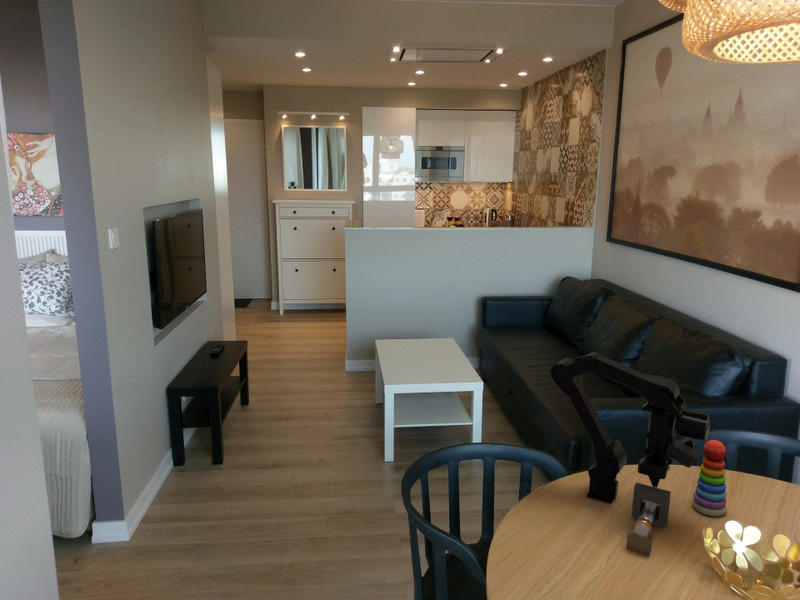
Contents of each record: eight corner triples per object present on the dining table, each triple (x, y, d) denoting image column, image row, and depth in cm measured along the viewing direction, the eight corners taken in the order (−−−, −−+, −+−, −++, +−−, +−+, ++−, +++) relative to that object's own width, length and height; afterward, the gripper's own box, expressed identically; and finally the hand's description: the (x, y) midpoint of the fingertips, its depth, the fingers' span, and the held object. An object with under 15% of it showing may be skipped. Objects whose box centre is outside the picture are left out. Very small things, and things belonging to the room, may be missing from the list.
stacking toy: (731, 519, 142) (738, 449, 138) (697, 516, 143) (703, 447, 140) (720, 502, 150) (726, 435, 146) (687, 499, 151) (693, 434, 147)
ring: (633, 512, 144) (636, 482, 143) (667, 522, 140) (670, 491, 138) (631, 517, 143) (634, 486, 141) (665, 527, 138) (669, 496, 136)
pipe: (641, 510, 146) (643, 490, 145) (662, 516, 144) (664, 496, 142) (626, 549, 131) (628, 527, 130) (649, 556, 129) (651, 534, 127)
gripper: (692, 453, 129) (685, 514, 132) (701, 423, 144) (694, 479, 147) (640, 441, 135) (634, 500, 138) (654, 413, 150) (648, 467, 153)
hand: (654, 486), depth 144 cm, fingers closed
